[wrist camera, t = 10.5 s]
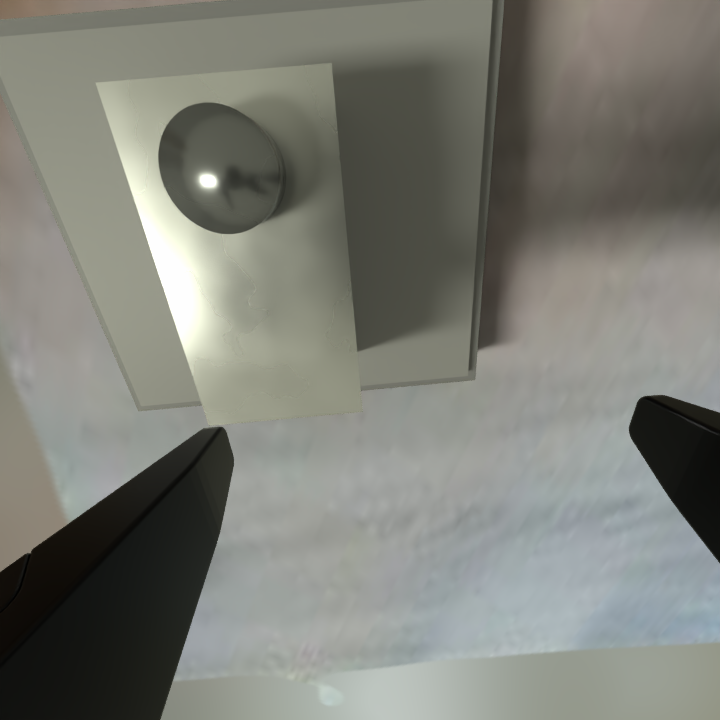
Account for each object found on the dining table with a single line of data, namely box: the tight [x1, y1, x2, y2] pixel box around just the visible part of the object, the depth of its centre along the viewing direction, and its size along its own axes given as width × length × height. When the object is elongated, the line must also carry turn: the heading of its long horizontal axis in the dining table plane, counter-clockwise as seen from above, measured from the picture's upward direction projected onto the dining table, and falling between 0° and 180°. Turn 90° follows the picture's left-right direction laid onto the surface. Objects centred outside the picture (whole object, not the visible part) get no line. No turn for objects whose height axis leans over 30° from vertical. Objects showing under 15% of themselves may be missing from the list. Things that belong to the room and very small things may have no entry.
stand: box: [0, 0, 504, 411], centre depth 15 cm, size 16×14×3 cm
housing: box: [96, 63, 363, 426], centre depth 11 cm, size 9×5×6 cm, turn 4°
